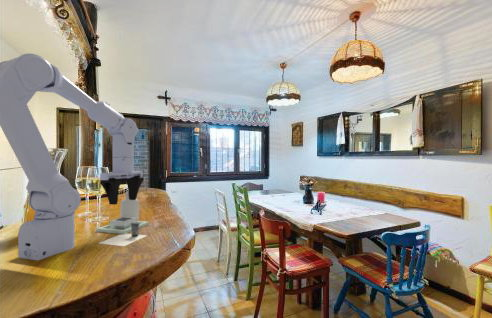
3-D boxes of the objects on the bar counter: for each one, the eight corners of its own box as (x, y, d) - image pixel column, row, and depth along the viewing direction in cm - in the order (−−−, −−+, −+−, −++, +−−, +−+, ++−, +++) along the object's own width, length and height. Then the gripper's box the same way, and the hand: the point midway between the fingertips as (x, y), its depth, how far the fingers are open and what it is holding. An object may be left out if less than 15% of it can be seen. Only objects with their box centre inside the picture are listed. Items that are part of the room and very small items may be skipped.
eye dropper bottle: (123, 221, 82) (123, 187, 82) (140, 220, 83) (140, 187, 83) (118, 224, 78) (118, 189, 78) (136, 223, 79) (136, 188, 79)
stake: (136, 237, 62) (136, 224, 62) (129, 236, 63) (128, 224, 63) (141, 235, 64) (141, 222, 64) (133, 234, 64) (133, 222, 64)
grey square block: (109, 230, 69) (109, 220, 69) (123, 225, 74) (123, 216, 74) (124, 232, 68) (124, 222, 68) (137, 227, 73) (137, 217, 73)
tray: (124, 237, 65) (124, 231, 65) (96, 234, 67) (96, 228, 67) (148, 227, 74) (148, 221, 74) (123, 225, 77) (123, 219, 77)
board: (124, 250, 56) (124, 246, 56) (98, 247, 58) (98, 243, 58) (147, 239, 63) (146, 235, 63) (123, 236, 65) (123, 233, 65)
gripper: (114, 157, 63) (114, 207, 63) (150, 157, 77) (150, 198, 77) (94, 157, 65) (94, 206, 65) (132, 157, 79) (132, 197, 79)
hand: (123, 201), depth 71 cm, fingers open, 7 cm apart
